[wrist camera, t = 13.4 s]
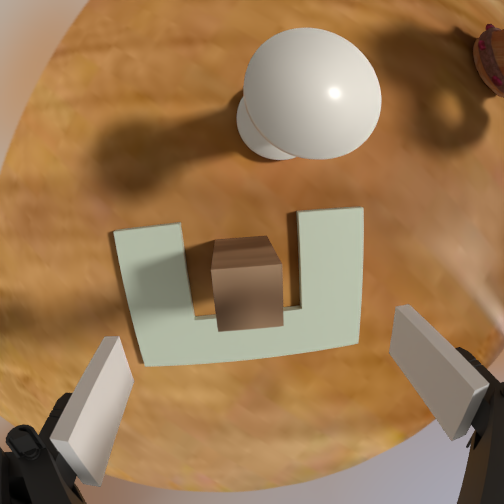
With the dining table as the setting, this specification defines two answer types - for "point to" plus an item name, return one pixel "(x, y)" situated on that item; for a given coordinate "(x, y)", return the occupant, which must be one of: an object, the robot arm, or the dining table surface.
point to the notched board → (253, 340)
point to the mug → (491, 58)
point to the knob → (308, 97)
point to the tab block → (247, 284)
